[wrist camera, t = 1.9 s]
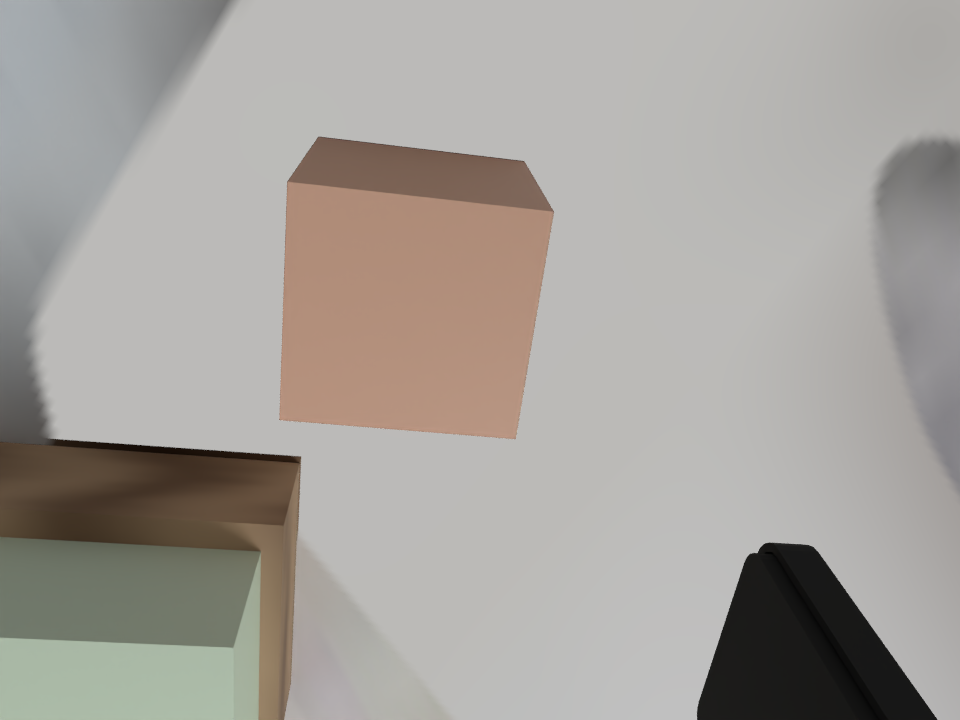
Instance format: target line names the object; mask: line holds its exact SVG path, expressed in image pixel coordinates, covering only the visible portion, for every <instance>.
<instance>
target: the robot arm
mask: <svg viewBox="0 0 960 720" xmlns="http://www.w3.org/2000/svg"><path fill="white" fill-rule="evenodd" d="M697 720H937V718H936V717H935V716H934V714H933V713H932V711H931V710H930V709H929V707H928V706H927V704H926V703H925V701H924V700H923V699H922V697H921V696H920V694H919V693H918V692H917V690H916V689H915V687H914V686H913V685H912V684H911V682H910V680H909V679H908V678H907V676H906V675H905V673H904V672H903V671H902V669H901V668H900V666H899V665H898V663H897V662H896V661H895V659H894V658H893V656H892V655H891V654H890V652H889V651H888V649H887V648H886V647H885V645H884V644H883V642H882V641H881V640H880V638H879V637H878V636H877V634H876V633H875V631H874V630H873V628H872V627H871V626H870V624H869V623H868V621H867V620H866V619H865V617H864V616H863V614H862V613H861V612H860V610H859V609H858V607H857V606H856V605H855V603H854V602H853V600H852V599H851V598H850V596H849V595H848V593H847V592H846V590H845V589H844V588H843V586H842V585H841V584H840V582H839V581H838V580H837V578H836V576H835V575H834V574H833V572H832V571H831V569H830V568H829V567H828V565H827V564H826V562H825V561H824V560H823V558H822V557H821V555H820V554H819V553H818V551H816V549H815V548H814V547H812V546H809V545H801V544H782V543H766V544H764V545H763V546H762V547H761V548H760V549H759V551H758V553H752V554H750V555H749V556H748V557H747V559H746V561H745V563H744V566H743V569H742V572H741V575H740V578H739V581H738V584H737V587H736V590H735V593H734V597H733V599H732V602H731V605H730V608H729V612H728V615H727V618H726V621H725V624H724V627H723V630H722V633H721V636H720V639H719V642H718V645H717V648H716V651H715V654H714V658H713V660H712V663H711V667H710V670H709V673H708V676H707V679H706V682H705V685H704V688H703V691H702V694H701V697H700V700H699V704H698V710H697Z"/></svg>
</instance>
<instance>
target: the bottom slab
mask: <svg viewBox="0 0 960 720" xmlns="http://www.w3.org/2000/svg"><path fill="white" fill-rule="evenodd" d="M300 474H301V456H288V455H274V454H259V453H246V452H231V451H218V450H203V449H190V448H189V449H188V448H175V447H161V446H146V445H133V444H119V443H104V442H90V441H77V440H63V439H51V442H50V445H36V444H21V443H7V442H0V537H10V538H27V539H45V540H63V541H81V542H99V543H117V544H135V545H153V546H171V547H189V548H207V549H225V550H243V551H261V577H260V646H259V716H258V720H284V716H285V711H286V706H287V700H288V695H289V690H290V684H291V665H292V640H293V615H294V590H295V565H296V540H297V536H298V523H299V499H300Z"/></svg>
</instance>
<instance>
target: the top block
mask: <svg viewBox="0 0 960 720" xmlns="http://www.w3.org/2000/svg"><path fill="white" fill-rule="evenodd" d="M260 577H261V551H243V550H225V549H207V548H189V547H171V546H153V545H135V544H117V543H99V542H81V541H63V540H45V539H27V538H10V537H0V720H258V716H259V646H260Z"/></svg>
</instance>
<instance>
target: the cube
mask: <svg viewBox="0 0 960 720" xmlns="http://www.w3.org/2000/svg"><path fill="white" fill-rule="evenodd" d="M553 214H554V211H553V209H552V208H551V206H550V204H549V203H548V201H547V199H546V197H545V196H544V194H543V193H542V191H541V189H540V187H539V186H538V184H537V182H536V180H535V179H534V177H533V175H532V174H531V172H530V170H529V169H528V167H527V165H526V163H525V162H524V161H519V160H511V159H503V158H494V157H486V156H477V155H469V154H461V153H453V152H444V151H436V150H428V149H419V148H410V147H402V146H394V145H386V144H376V143H369V142H360V141H352V140H344V139H335V138H327V137H318V138H317V140H316V141H315V142H314V144H313V145H312V147H311V148H310V150H309V151H308V153H307V154H306V155H305V157H304V158H303V160H302V161H301V163H300V164H299V166H298V167H297V168H296V170H295V172H294V173H293V174H292V176H291V177H290V179H289V180H288V182H287V207H286V237H285V268H284V269H285V271H284V298H283V299H284V300H283V329H282V360H281V390H280V419H279V420H286V421H298V422H311V423H322V424H335V425H348V426H360V427H373V428H385V429H397V430H409V431H422V432H434V433H446V434H459V435H471V436H484V437H496V438H497V437H498V438H509V439H516V434H517V428H518V421H519V416H520V410H521V404H522V398H523V392H524V386H525V380H526V374H527V368H528V363H529V357H530V351H531V345H532V339H533V333H534V327H535V321H536V315H537V309H538V303H539V297H540V291H541V285H542V279H543V274H544V267H545V261H546V255H547V250H548V243H549V238H550V232H551V226H552V220H553Z"/></svg>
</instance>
